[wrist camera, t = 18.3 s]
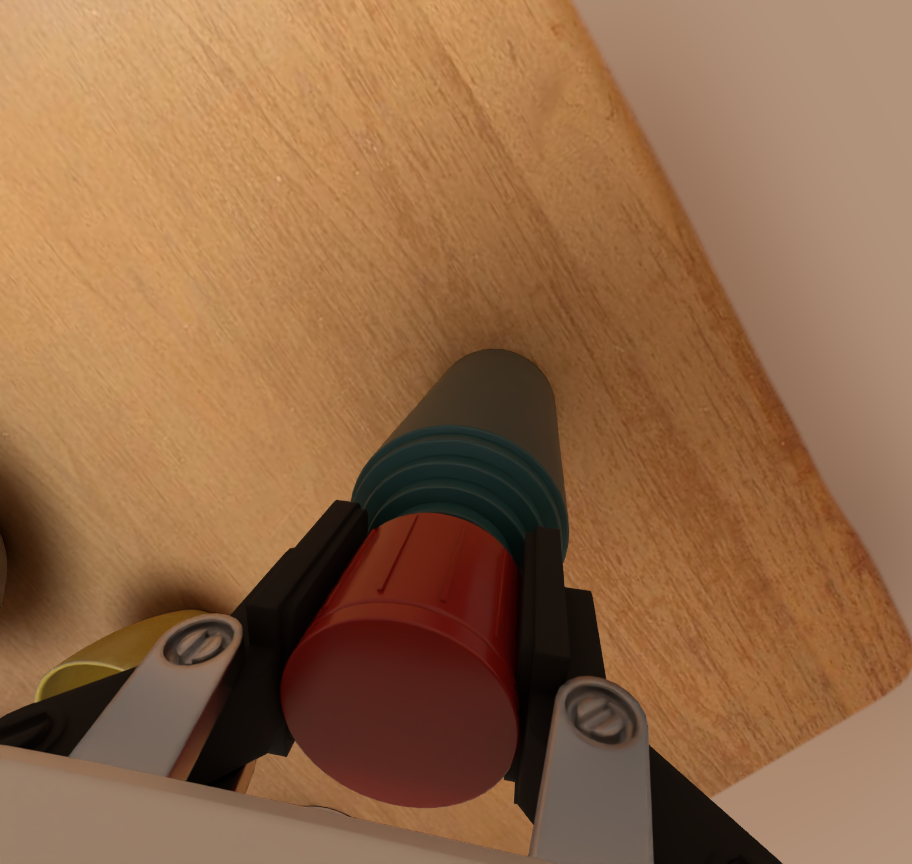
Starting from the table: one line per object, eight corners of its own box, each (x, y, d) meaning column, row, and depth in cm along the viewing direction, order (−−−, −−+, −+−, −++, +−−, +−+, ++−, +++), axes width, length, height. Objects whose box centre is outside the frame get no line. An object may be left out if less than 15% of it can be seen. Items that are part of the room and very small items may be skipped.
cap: (537, 525, 10) (536, 645, 7) (513, 675, 11) (504, 831, 8) (352, 498, 10) (273, 597, 7) (350, 644, 12) (283, 781, 9)
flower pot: (288, 704, 33) (226, 814, 27) (159, 695, 35) (70, 796, 28) (256, 578, 30) (176, 667, 24) (117, 575, 32) (6, 657, 25)
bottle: (562, 353, 23) (613, 551, 7) (547, 470, 25) (563, 829, 9) (437, 344, 24) (231, 502, 8) (433, 458, 26) (262, 767, 10)
